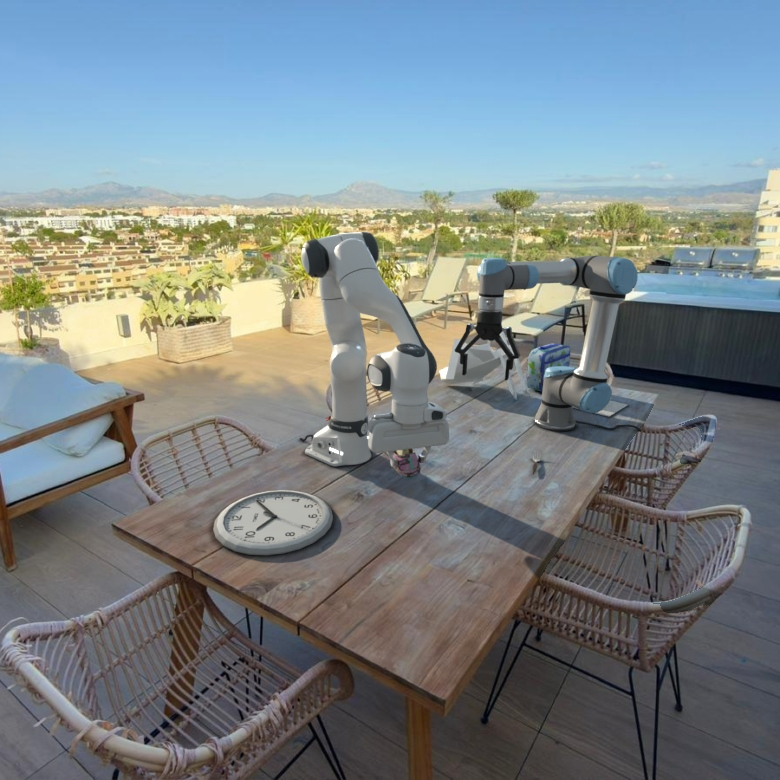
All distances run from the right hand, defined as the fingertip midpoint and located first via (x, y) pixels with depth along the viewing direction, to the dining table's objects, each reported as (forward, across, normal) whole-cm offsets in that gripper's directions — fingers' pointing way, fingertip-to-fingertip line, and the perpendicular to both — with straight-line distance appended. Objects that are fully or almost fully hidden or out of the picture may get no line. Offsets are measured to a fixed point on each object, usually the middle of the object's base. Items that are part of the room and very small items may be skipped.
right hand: (485, 376), depth 167 cm
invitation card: (+28, +37, +73) cm, 86 cm away
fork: (+28, +18, 0) cm, 33 cm away
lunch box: (+28, +12, +92) cm, 97 cm away
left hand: (+11, -8, -48) cm, 50 cm away
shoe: (+14, -14, -41) cm, 46 cm away
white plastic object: (+28, -16, +71) cm, 78 cm away
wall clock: (+28, -40, -61) cm, 78 cm away
